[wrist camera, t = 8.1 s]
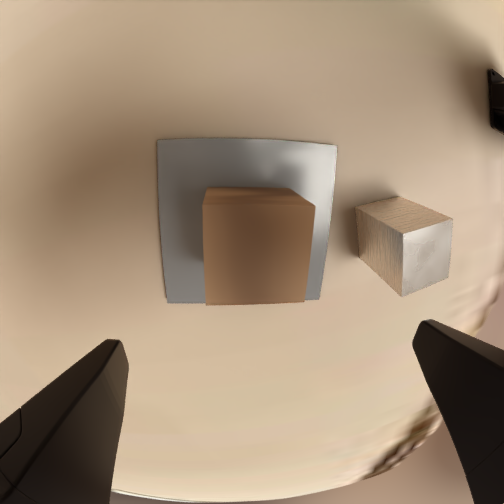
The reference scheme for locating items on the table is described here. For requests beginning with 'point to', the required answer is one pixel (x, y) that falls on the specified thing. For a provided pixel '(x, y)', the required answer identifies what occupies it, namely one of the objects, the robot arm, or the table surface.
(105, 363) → the robot arm
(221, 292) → the walnut block
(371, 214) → the light wood block
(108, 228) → the table surface
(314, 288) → the slate coaster
